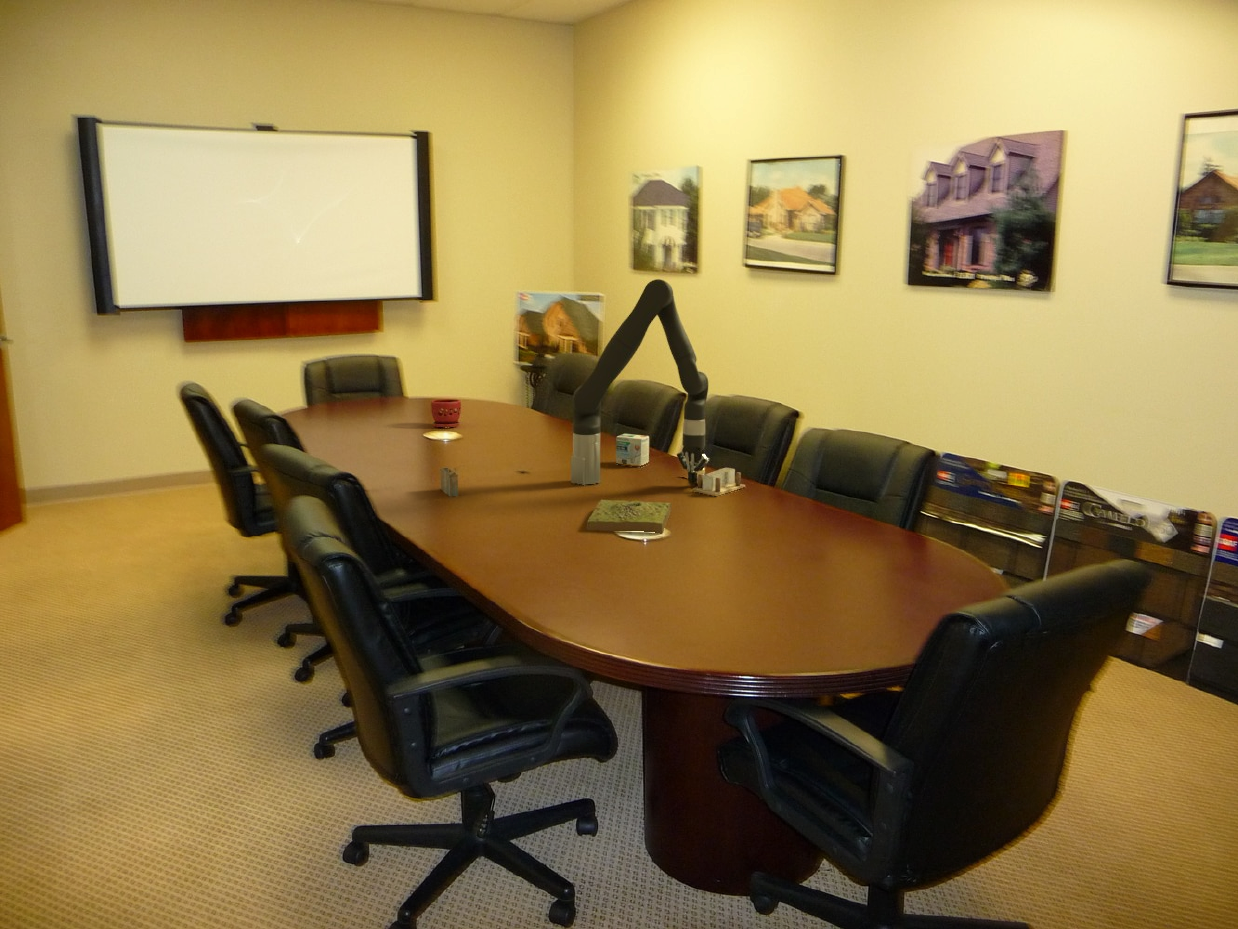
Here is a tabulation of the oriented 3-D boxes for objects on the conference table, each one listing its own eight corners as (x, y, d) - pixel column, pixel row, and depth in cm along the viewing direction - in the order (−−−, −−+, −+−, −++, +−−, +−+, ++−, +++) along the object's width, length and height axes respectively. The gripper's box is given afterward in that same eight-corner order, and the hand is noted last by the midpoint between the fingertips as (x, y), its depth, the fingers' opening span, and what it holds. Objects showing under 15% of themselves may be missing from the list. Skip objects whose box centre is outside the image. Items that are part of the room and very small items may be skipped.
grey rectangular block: (711, 491, 316) (712, 476, 315) (702, 489, 318) (703, 474, 317) (734, 483, 327) (734, 469, 326) (725, 482, 329) (726, 467, 328)
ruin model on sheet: (459, 497, 313) (458, 468, 310) (450, 498, 311) (449, 469, 309) (450, 489, 323) (449, 461, 321) (441, 490, 321) (440, 461, 319)
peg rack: (715, 497, 314) (716, 480, 313) (692, 491, 320) (692, 475, 319) (745, 488, 325) (745, 472, 324) (722, 483, 332) (722, 467, 330)
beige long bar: (708, 486, 325) (708, 478, 325) (693, 486, 326) (693, 478, 325) (704, 474, 344) (704, 466, 343) (690, 474, 344) (690, 465, 343)
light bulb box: (615, 464, 360) (615, 436, 358) (623, 461, 366) (624, 433, 364) (641, 467, 355) (641, 438, 353) (649, 464, 361) (649, 435, 359)
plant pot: (466, 427, 432) (465, 401, 429) (438, 430, 425) (437, 403, 422) (454, 423, 442) (453, 397, 440) (427, 425, 436) (426, 399, 433)
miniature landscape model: (586, 532, 276) (586, 514, 275) (600, 510, 299) (600, 494, 298) (662, 535, 273) (662, 518, 272) (671, 513, 296) (671, 497, 295)
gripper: (671, 430, 326) (670, 481, 329) (702, 436, 317) (700, 488, 321) (685, 428, 331) (684, 477, 335) (716, 433, 322) (714, 484, 326)
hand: (692, 482), depth 328 cm, fingers closed
